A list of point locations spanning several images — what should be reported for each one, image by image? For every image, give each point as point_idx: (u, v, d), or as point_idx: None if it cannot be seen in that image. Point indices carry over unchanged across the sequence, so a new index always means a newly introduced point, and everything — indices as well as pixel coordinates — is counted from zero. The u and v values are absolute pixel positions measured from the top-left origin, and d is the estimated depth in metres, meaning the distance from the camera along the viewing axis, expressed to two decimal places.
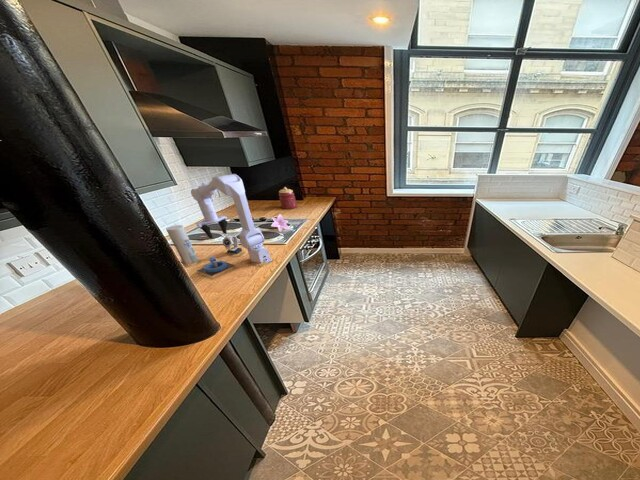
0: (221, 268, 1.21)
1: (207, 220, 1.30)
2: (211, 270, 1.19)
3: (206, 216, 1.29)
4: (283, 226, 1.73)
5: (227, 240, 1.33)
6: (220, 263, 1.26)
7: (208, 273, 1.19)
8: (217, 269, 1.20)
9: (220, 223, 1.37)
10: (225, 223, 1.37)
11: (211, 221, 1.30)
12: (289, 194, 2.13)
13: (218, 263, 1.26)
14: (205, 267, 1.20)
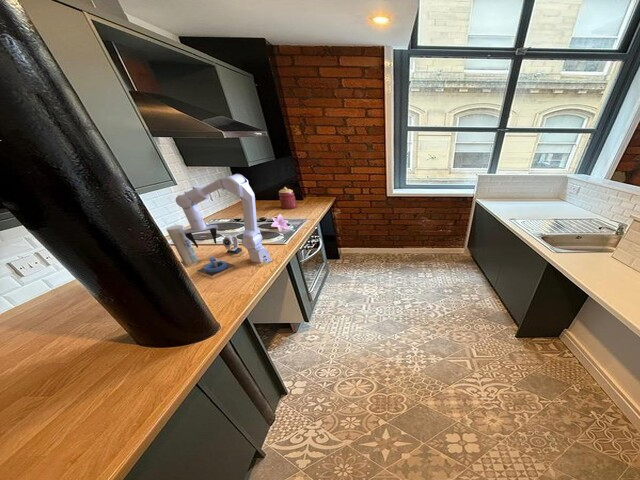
0: (221, 268, 1.21)
1: (192, 228, 1.19)
2: (211, 270, 1.19)
3: (190, 224, 1.18)
4: (283, 226, 1.73)
5: (227, 240, 1.33)
6: (220, 263, 1.26)
7: (208, 273, 1.19)
8: (217, 269, 1.20)
9: None
10: (213, 233, 1.24)
11: (195, 230, 1.19)
12: (289, 194, 2.13)
13: (218, 263, 1.26)
14: (205, 267, 1.20)
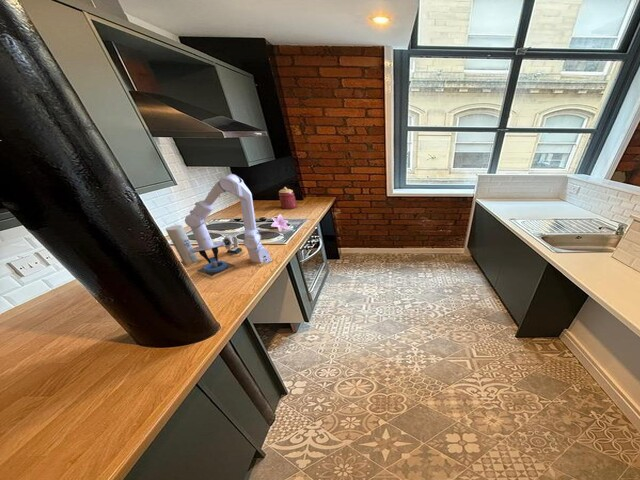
0: (221, 268, 1.21)
1: (200, 247, 1.20)
2: (211, 270, 1.19)
3: (198, 243, 1.18)
4: (283, 226, 1.73)
5: (227, 240, 1.33)
6: (220, 263, 1.26)
7: (208, 273, 1.19)
8: (217, 269, 1.20)
9: None
10: (215, 252, 1.24)
11: (203, 248, 1.20)
12: (289, 194, 2.13)
13: (218, 263, 1.26)
14: (205, 267, 1.20)
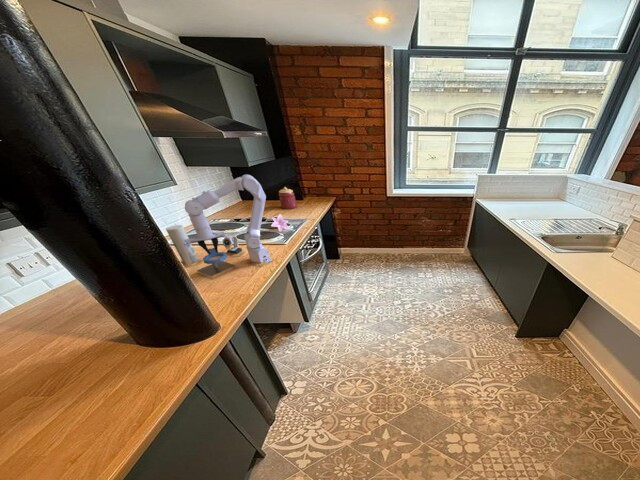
0: (221, 259, 1.14)
1: (198, 237, 1.12)
2: (210, 261, 1.12)
3: (197, 232, 1.11)
4: (283, 226, 1.73)
5: (227, 240, 1.33)
6: (220, 254, 1.18)
7: (208, 273, 1.19)
8: (217, 260, 1.13)
9: (212, 241, 1.18)
10: (215, 242, 1.16)
11: (202, 238, 1.12)
12: (289, 194, 2.13)
13: (218, 254, 1.18)
14: (204, 258, 1.13)
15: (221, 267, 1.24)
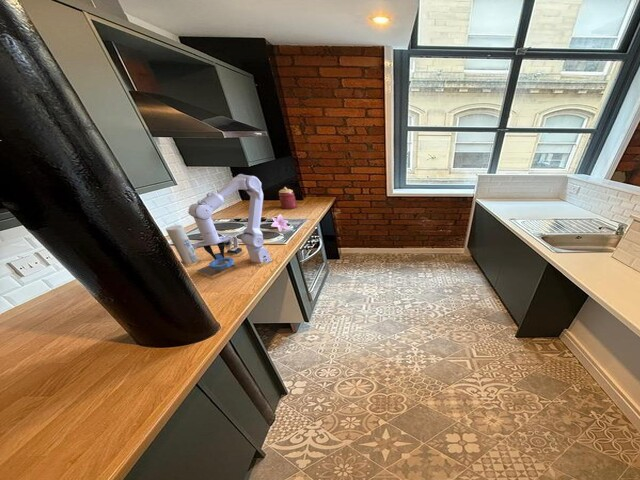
0: (228, 265, 1.10)
1: (204, 242, 1.08)
2: (217, 267, 1.08)
3: (203, 237, 1.07)
4: (283, 226, 1.73)
5: None
6: (227, 260, 1.14)
7: (208, 273, 1.19)
8: (223, 266, 1.09)
9: None
10: (221, 247, 1.12)
11: (208, 243, 1.08)
12: (289, 194, 2.13)
13: (224, 260, 1.14)
14: (210, 264, 1.09)
15: None
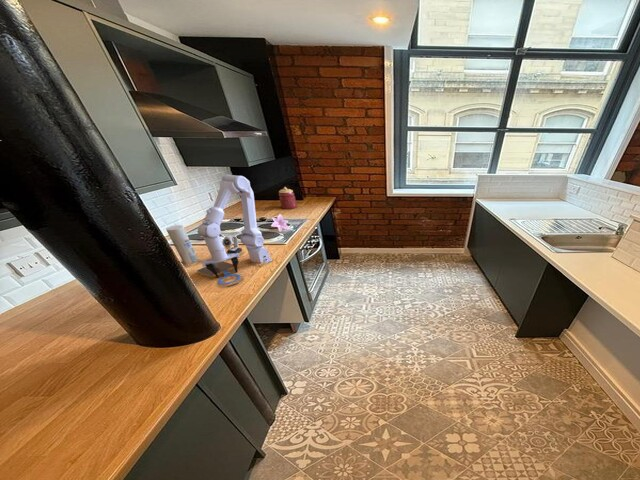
0: None
1: (213, 259, 1.12)
2: None
3: (212, 255, 1.10)
4: (283, 226, 1.73)
5: (227, 240, 1.33)
6: None
7: (208, 273, 1.19)
8: None
9: None
10: (235, 262, 1.17)
11: (216, 261, 1.12)
12: (289, 194, 2.13)
13: None
14: (219, 281, 1.13)
15: (221, 267, 1.24)
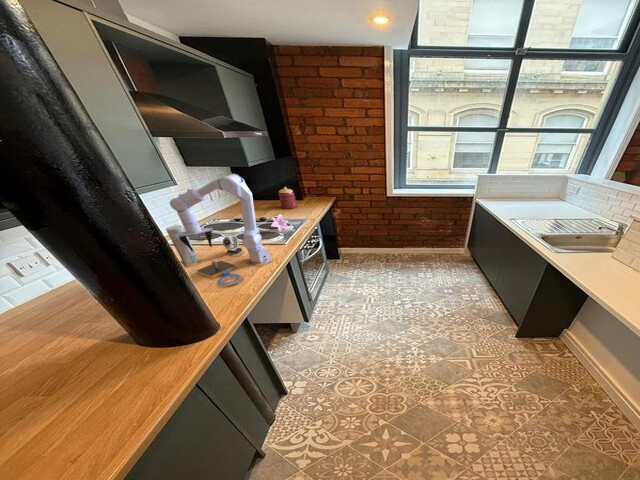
0: None
1: (186, 232, 1.17)
2: None
3: (185, 227, 1.16)
4: (283, 226, 1.73)
5: (227, 240, 1.33)
6: None
7: (208, 273, 1.19)
8: None
9: None
10: (208, 236, 1.22)
11: (190, 233, 1.17)
12: (289, 194, 2.13)
13: None
14: (219, 281, 1.13)
15: (221, 267, 1.24)
